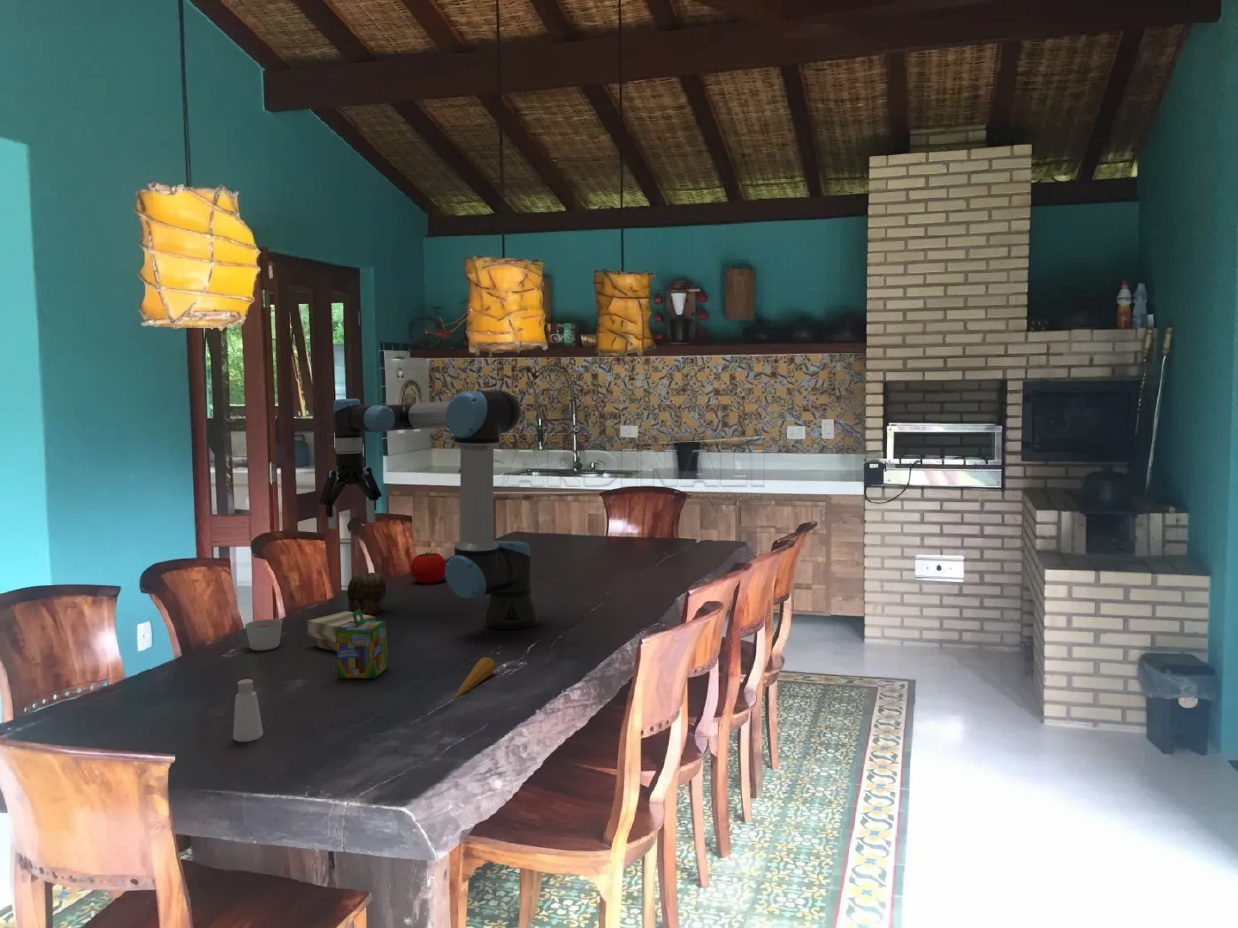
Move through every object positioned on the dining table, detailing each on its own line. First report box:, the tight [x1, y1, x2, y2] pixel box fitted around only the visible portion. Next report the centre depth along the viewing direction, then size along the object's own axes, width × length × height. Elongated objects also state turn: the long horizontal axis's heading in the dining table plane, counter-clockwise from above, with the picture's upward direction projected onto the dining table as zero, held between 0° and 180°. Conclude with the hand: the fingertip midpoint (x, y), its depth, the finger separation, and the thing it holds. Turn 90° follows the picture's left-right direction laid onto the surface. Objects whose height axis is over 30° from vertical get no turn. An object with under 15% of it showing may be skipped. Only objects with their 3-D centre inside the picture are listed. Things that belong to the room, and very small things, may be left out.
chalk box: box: [335, 609, 389, 680], centre depth 224 cm, size 9×9×15 cm
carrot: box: [452, 657, 496, 700], centre depth 214 cm, size 20×4×4 cm, turn 165°
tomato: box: [410, 551, 447, 584], centre depth 326 cm, size 12×12×10 cm
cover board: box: [307, 610, 377, 642], centre depth 249 cm, size 12×12×4 cm
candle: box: [244, 618, 283, 652], centre depth 249 cm, size 9×9×6 cm
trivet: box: [316, 638, 336, 652], centre depth 249 cm, size 9×9×3 cm
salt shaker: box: [232, 678, 264, 743], centre depth 185 cm, size 5×5×11 cm
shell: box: [346, 572, 387, 616], centre depth 284 cm, size 11×11×12 cm
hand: (352, 525), depth 280 cm, fingers open, 13 cm apart
